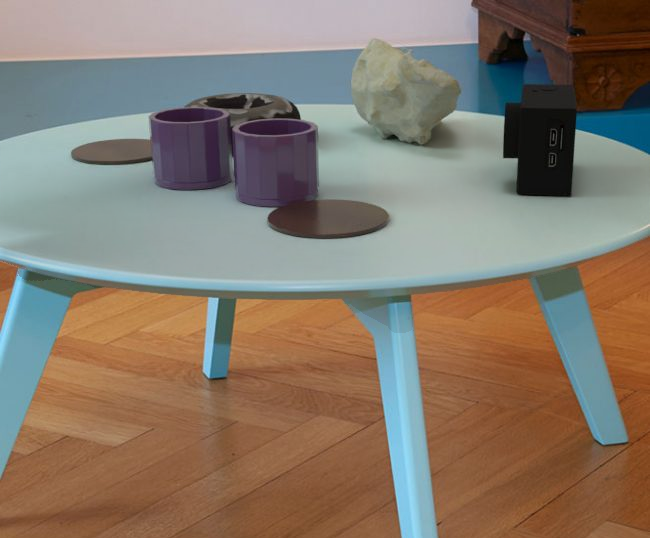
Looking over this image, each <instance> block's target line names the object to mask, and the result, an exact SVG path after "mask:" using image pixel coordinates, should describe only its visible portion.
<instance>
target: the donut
mask: <svg viewBox="0 0 650 538" xmlns="http://www.w3.org/2000/svg"><path fill="white" fill-rule="evenodd" d="M184 107H210V108H218V109H222V110H226V111H228V112H229V113H230V122H231V142H232V154H233V140H232V128H233V127H234V126H235V125H237V124H240V123H243V122H247V121H253V120H260V119H298V120H302V118H301V113H300V111H299V109H298V106H297V105H295V104H294V103H293V102H292V101H290V100H288V99H287V98H284V97H282V96H279V95H275V94H267V93H257V92H256V93H255V92H254V93H252V92H237V93H236V92H234V93H222V94H214V95H209V96H204V97H201V98H196V99H194V100H192V101H190V102H189V103H187V104H186V105H184V106H183V108H184Z"/></svg>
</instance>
